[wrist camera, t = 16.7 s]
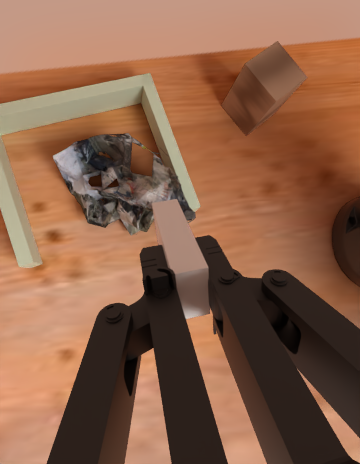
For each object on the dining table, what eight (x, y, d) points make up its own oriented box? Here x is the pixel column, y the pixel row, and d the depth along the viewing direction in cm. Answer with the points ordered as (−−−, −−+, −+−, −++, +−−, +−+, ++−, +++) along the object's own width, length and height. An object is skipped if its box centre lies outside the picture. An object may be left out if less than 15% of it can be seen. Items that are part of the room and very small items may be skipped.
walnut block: (272, 115, 46) (307, 77, 37) (246, 136, 45) (276, 101, 36) (248, 86, 46) (277, 41, 37) (220, 105, 45) (244, 63, 36)
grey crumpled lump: (130, 108, 38) (195, 167, 30) (144, 172, 47) (198, 232, 38) (43, 141, 35) (89, 218, 27) (75, 204, 43) (117, 277, 35)
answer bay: (193, 213, 41) (200, 206, 37) (30, 268, 36) (19, 266, 32) (147, 91, 43) (150, 72, 39) (-15, 127, 38) (-31, 110, 34)
